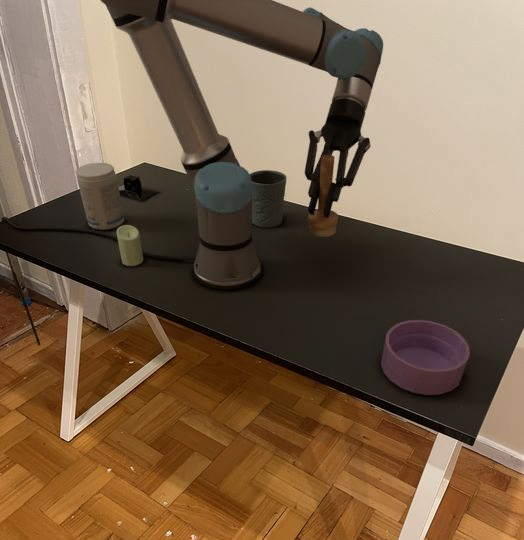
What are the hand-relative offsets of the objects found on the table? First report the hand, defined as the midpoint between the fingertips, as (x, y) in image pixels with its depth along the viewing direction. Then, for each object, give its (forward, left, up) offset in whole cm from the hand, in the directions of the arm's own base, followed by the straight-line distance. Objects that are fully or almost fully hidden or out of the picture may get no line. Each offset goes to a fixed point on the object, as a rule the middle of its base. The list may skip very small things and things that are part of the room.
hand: (318, 213), depth 107 cm
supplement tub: (-60, -5, -16) cm, 63 cm away
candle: (-40, -16, -16) cm, 46 cm away
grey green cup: (-25, +20, -16) cm, 36 cm away
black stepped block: (-68, +14, -16) cm, 72 cm away
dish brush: (-1, +4, -6) cm, 7 cm away
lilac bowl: (+31, -16, -16) cm, 38 cm away
